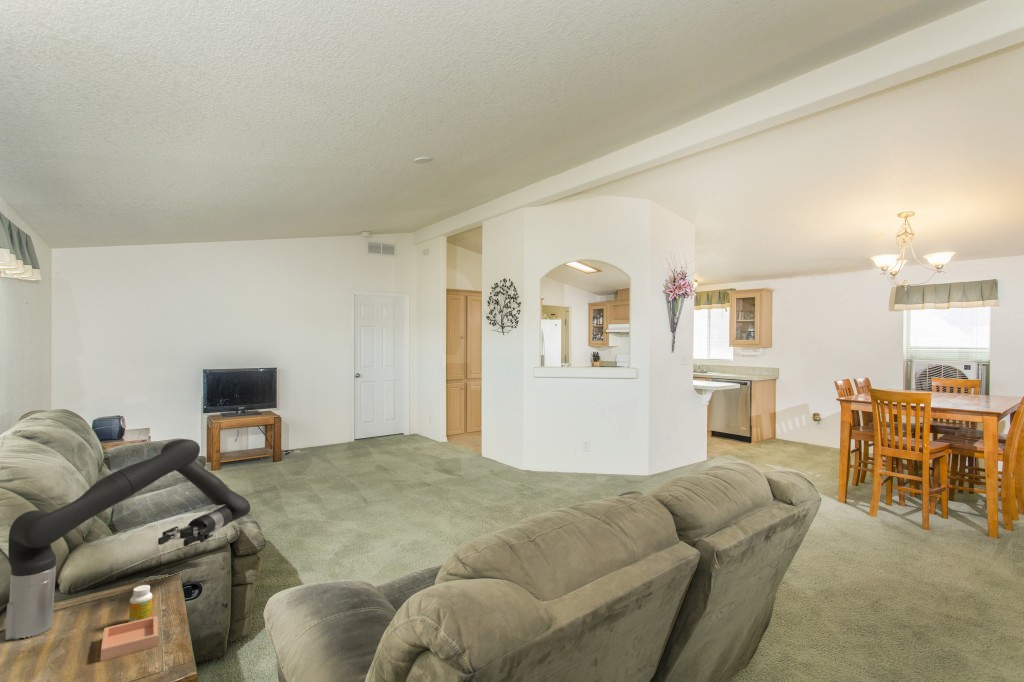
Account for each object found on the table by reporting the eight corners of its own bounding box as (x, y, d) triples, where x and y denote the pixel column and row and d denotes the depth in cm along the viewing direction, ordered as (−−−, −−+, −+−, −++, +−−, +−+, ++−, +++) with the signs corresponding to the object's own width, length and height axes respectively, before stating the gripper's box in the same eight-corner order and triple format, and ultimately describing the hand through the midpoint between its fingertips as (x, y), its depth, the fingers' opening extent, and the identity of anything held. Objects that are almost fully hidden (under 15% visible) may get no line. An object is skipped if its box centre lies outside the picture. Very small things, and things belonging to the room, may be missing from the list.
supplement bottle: (139, 627, 144) (140, 593, 144) (123, 624, 145) (125, 590, 145) (155, 617, 149) (157, 584, 149) (141, 615, 150) (142, 582, 150)
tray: (100, 661, 127) (101, 649, 128) (103, 639, 137) (104, 628, 137) (157, 646, 135) (158, 635, 135) (156, 626, 144) (157, 615, 144)
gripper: (187, 513, 175) (151, 529, 159) (225, 515, 174) (193, 532, 158) (186, 534, 175) (150, 553, 159) (225, 536, 174) (192, 555, 158)
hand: (171, 542), depth 158 cm, fingers open, 8 cm apart
